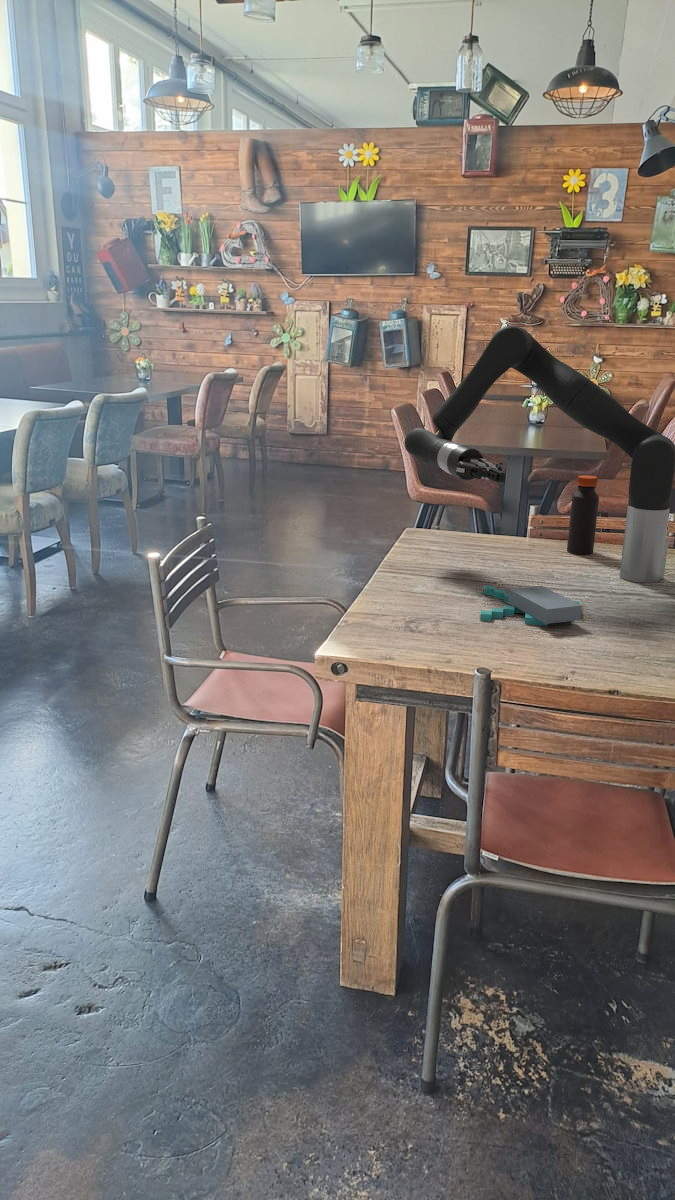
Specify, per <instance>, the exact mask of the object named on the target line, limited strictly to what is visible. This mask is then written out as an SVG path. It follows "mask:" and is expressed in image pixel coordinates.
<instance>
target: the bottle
mask: <svg viewBox="0 0 675 1200" xmlns="http://www.w3.org/2000/svg"><path fill="white" fill-rule="evenodd" d="M597 485H598V477H597V476H595V475H587V474H586V475H577V481H576V487H577V490H576V491H575V492H574V493H573V494H572V495H571V506H570V512H569V522H568V523H569V525H568V535H567V542H566V543H567V545H566V551H567V553H570V554H572V555H576V556H577V555H578V556H580V555H581V556H586V555H587V556H588V555H591V554H593V553H594V549H595V548H594V547H595V540H596V530H597V529H596V528H597V521H598V512H599V510H598V509H599V503H600V501H599V500H600V497H599V495H598V494H597V492H596V488H597Z"/></svg>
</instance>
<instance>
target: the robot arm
mask: <svg viewBox="0 0 675 1200" xmlns="http://www.w3.org/2000/svg"><path fill="white" fill-rule="evenodd" d="M511 368H512V369H513V370H515V371H517V372H519V373H520V374H521V375H523V376H524V377H526V378H527V379H529V380H530V381H532V382H533V383H534V384H536V386H537V387H539V388H540V389H541V391H542V392H543V393H544V394H545V396H546V397H548V398H549V400H550V401H551V402H552V403H553V404H554V405H555V406H556V407H557V408H558V409H559V410H560V411H561V412H562V413H564V414H565V415H567V416H568V417H569V418H570V419H572V420H573V421H574V422H575V423H577V424H578V425H580V426H581V427H583V428H585V429H587V430H588V431H590V432H592V433H595V435H598V436H601V437H603V438H604V439H607V440H608V441H610V442H611V443H613V444H615V445H616V446H617V447H619V448H620V449H621V450H622V451H623V452H624V453H625V454H626V455H628V456H629V457H630V458H631V464H630V475H629V484H628V500H627V501H628V502H627V511H626V517H625V518H626V520H625V527H624V535H623V542H622V544H623V545H622V552H621V559H620V561H621V562H620V570H619V577H620V578H622V579H623V580H626V581H631V582H635V583H657V582H659V581H661V580H662V579H664V578H665V572H666V563H667V557H668V550H669V541H670V540H669V539H668V538H667V532H668V523H669V518H670V517H669V516H670V507H671V502H672V491H673V482H674V475H675V443H674V441H672V440H671V439H670V438H668V436H665V434H664V435H663V434H661V433H660V432H658V431H657V430H655V429H653V428H652V427H650V426H648V425H647V424H645V423H643V422H642V421H641V420H639V419H638V418H636V417H635V416H633V414H631V413H630V412H629V411H628V410H627V409H626V408H625V407H624V406H623V405H622V404H621V403H620V402H618V400H616V399H615V398H613V396H612V395H610V394H609V393H608V392H606V391H605V390H604V389H603V388H602V387H600V386H599V385H598V384H596V383H595V382H594V381H593V380H591V379H590V378H588V377H587V376H585V375H584V374H583V373H581V372H580V371H578V370H576V369H575V368H573V367H572V366H570V365H568V364H566V363H564V362H562V361H561V360H559V359H558V358H556V356H554V355H553V354H551V353H550V352H549V351H548V350H547V349H546V348H545V347H544V346H542V344H540V343H539V342H538V341H537V340H536V339H535V337H534V336H532V335H531V334H530V333H529V331H527V330H526V329H524V328H523V327H520V326H518V325H517V326H516V325H507V326H503V327H501V328H499V329H498V330H497V331H495V332H494V334H493V335H492V337H491V339H490V341H489V342H488V344H487V345H486V346H485V349H484V350H483V352H482V354H481V355H480V356H479V359H477V361H476V363H475V364H474V366H473V367H472V368H471V370H470V371H469V372H468V374H467V375H465V377H464V379H462V381H461V382H460V383H459V384H458V385H457V387H456V388H455V389H454V390H453V391H452V393H450V395H449V396H448V397H447V398H446V400H445V401H444V402H443V403H441V405H440V406H439V408H438V409H437V410H436V411H435V413H433V415H432V417H431V418H432V419H431V420H432V422H433V424H434V426H435V427H436V428H437V429H438V432H437V434H435V433H433V432H432V431H430V430H427V429H425V428H421V427H416V428H413V429H411V430H410V431H409V432H408V433H407V435H406V436H405V438H404V447H405V450H406V451H407V452H408V454H410V455H411V456H413V457H414V458H416V459H417V460H420V461H421V462H423V463H424V464H426V465H430V466H431V465H433V466H434V467H436V468H438V469H441V470H443V471H444V472H446V473H447V474H449V475H451V476H454V477H456V478H458V479H460V480H462V481H472V480H474V479H477V480H482V479H485V480H486V481H487V480H488V481H489V480H491V481H493V482H495V483H497V484H499V483H504V482H505V481H506V472H504V471H503V469H504V463H503V462H498V463H495V465H494V464H493V463H492V462H490V461H488V459H486V458H484V456H483V455H482V453H481V452H480V451H479V450H478V449H477V448H475V447H474V448H473V447H471V446H468V445H466V444H463V443H460V442H454V441H452V440H453V439H454V436H455V435H456V433H457V432H458V431H459V429H460V428H461V427H462V426H463V425H464V424H465V422H466V421H467V420H468V419H469V418H470V417H471V416H472V414H473V413H474V412H475V410H476V409H477V407H478V406H479V404H480V403H481V401H482V399H483V398H484V397H485V395H486V393H488V391H489V389H491V387H492V386H493V385H494V383H496V381H497V380H499V378H500V377H501V376H502V375H504V374H505V373H506V372H507V371H508V370H509V369H511Z"/></svg>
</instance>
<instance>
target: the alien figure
mask: <svg viewBox="0 0 675 1200" xmlns="http://www.w3.org/2000/svg"><path fill="white" fill-rule="evenodd" d="M508 594H509V592H506V591H505V589H499V588H498V589H496V586H494V585H484V588H483V595H485V596H493V599H497V600H499V599H500V600H503V603H508ZM564 597H565V596H564ZM565 598H567V599H569V597H567V596H566V597H565ZM572 601H573V602H575V603H577V604H579V605H581V604H580V601H577V600H572ZM515 613H517V614H524V624H525V625H533V626H534V625H535V626H546V627H547V626H548V625H549V624H545V623H543V622H541V621H539V620H537V619H536V618H534V617H532V616H530V615H529V614H527V613H525V612H523V611H521V610H520V609H518V608H516V607H514V606H513V605H503V608H497V607H492V609H491V610H480V613H479V615H480V616H479V621H483V622H485V621H486V622H487V621H488V622H492V618H493V619H503V618H504V617H503V616H510V617H512V616H513V617H514V616H515ZM559 623H560V622H558V623H557V624H559Z"/></svg>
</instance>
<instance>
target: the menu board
mask: <svg viewBox="0 0 675 1200" xmlns="http://www.w3.org/2000/svg"><path fill="white" fill-rule="evenodd" d="M508 593H509V594H508V602H507V603H508V604H509V605H510V606H514V607H516V608H518V609H520V610H521V611H523V612H525V613H527V614H529V615H530V616H532V617H534V618H536V619H537V620H539V621H541V622H543V623H545V624H548V625H549V624H559V623H564V622H565V623H567V622H573V621H581V616H582V615H581V614H582V613H581V612H582V604H580V603H579V604H580V605H579V604H577V603H575V602H573V601H574V600H571V599H569V598H568V597H567V598H568V599H567V598H565V596H563V595H561V594H559V593H558V592H555V591H553V590H551V589H549V588H547V587H545V586H543V585H537V586H527V587H526V586H525V587H519V588H518V587H516V588H509V589H508ZM525 613H524V614H525ZM558 622H559V623H558Z"/></svg>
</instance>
